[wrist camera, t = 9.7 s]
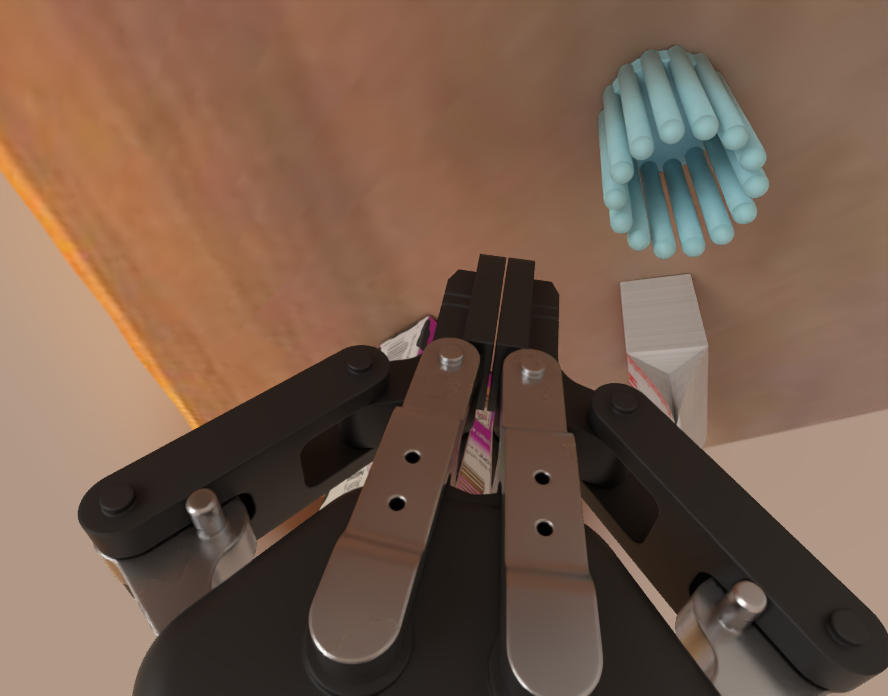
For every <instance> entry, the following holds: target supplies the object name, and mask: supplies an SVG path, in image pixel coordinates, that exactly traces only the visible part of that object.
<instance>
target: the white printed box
mask: <svg viewBox="0 0 888 696" xmlns="http://www.w3.org/2000/svg"><path fill="white" fill-rule="evenodd" d="M620 291H621V301H622V312H623V322H624V333H625V344H626V354H627V364H628V374H629V384H630V386H631V387H634V388H636V389H638V390H639V391H641V392H642V393H643V394H644V395H646V396H647V397H648V398H649V399H650V400H651V401H652V402H653V403H654V404H655V405H656V406H657V407H658V408H659V409H660V410H661V411H662V412H663V413H665V414H666V415H667V416H668V417H669V418H670V419H671V420H672V421H673V422H674V423H675V424H676V425H677V426H678V427H679V428H680V429H681V430H682V431H683V432H684V433H685V434H687V435H688V436H689V437H690V438H691V439H692V440H693V441H694V442H695V443H696V444H697V445H698V446H699V447H700V448H701V449H702V448H703V446H704V444H705V442H706V440H707V401H708V343H707V339H706V335H705V331H704V327H703V323H702V319H701V315H700V311H699V307H698V302H697V298H696V294H695V290H694V286H693V282H692V278H691V274H683V275H675V276H667V277H659V278H650V279H642V280H634V281H626V282H620Z"/></svg>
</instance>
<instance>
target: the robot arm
mask: <svg viewBox="0 0 888 696" xmlns="http://www.w3.org/2000/svg"><path fill="white" fill-rule="evenodd" d="M505 263H506V257H500V256H492V255H485V254H480V257H479V262H478V267H477V272H473V271H466V270H458V271H457V272H456V273H455V274H454V275H452V276H451V277H450V278H449V279H448V282H447V286H446V290H445V295H444V298H443V302H442V305H441V309H440V313H439V317H438V321H437V325H436V329H435V333H434V337H433V340H432V342H431V343H430V344H428V345H427V346H426V347H425V349H424V351H423V353H421V354H420V355H418V356H415V357H412V358H409V359H402V360H392V361H389V359H388V357H387V356H386V354H385V353H384V352H382V351H381V350H379V349H377V348H375V347H372V346H366V345H357V346H351V347H348V348H345V349H343V350H341V351H339V352H337V353H336V354H334V355H332V356H330V357H328V358H326V359H324V360H323V361H321V362H319V363H317V364H315V365H313V366H311V367H310V368H308V369H306V370H304V371H302V372H300V373H298V374H297V375H295V376H293V377H291V378H289V379H287V380H285V381H284V382H282V383H280V384H278V385H276V386H274V387H272V388H271V389H269V390H267V391H265V392H263V393H261V394H259V395H258V396H256V397H254V398H252V399H250V400H248V401H246V402H245V403H243V404H241V405H239V406H237V407H235V408H233V409H232V410H230V411H228V412H226V413H224V414H222V415H220V416H218V417H217V418H215V419H213V420H211V421H209V422H207V423H205V424H204V425H202V426H200V427H198V428H196V429H194V430H192V431H191V432H189V433H187V434H185V435H183V436H181V437H179V438H178V439H176V440H174V441H172V442H170V443H168V444H166V445H165V446H163V447H161V448H159V449H157V450H155V451H154V452H152V453H150V454H148V455H146V456H144V457H142V458H141V459H139V460H137V461H135V462H133V463H131V464H129V465H127V466H126V467H124V468H122V469H120V470H118V471H116V472H114V473H113V474H111V475H109V476H107V477H105V478H104V479H102V480H100V481H99V482H97V483H96V484H95V485H94V486H93V487H91V488H90V490H88V492H87V493H86V494H85V495H84V497H83V499H82V500H81V503H80V505H79V509H78V520H79V523H80V524H81V526H82V528H83V529H84V530H85V532H86V533H87V534H88V536H89V537H90V539H91V540H92V541H93V544H94V547H95V549H96V551H97V552H98V554H99V555H100V557H101V558H102V560H103V561H104V562H105V564H106V565H107V566H108V568H109V569H110V570H111V572H112V573H113V575H114V576H115V577H116V578H117V579H118V580H119V581H120V582H122V583H123V584H124V586H125V587H126V589H127V590H128V591H129V593H130V594H131V595H132V596H133V598H135V599H136V601H137V603H138V605H139V606H140V608H141V610H142V612H143V613H144V615H145V617H146V619H147V621H148V623H149V625H150V626H151V628H152V630H153V632H154V633H155V635H156V637H157V638H156V639H155V641H154V642H153V644H152V645H151V647H150V648H149V650H148V652H147V653H146V655H145V657H144V659H143V661H142V663H141V666H140V668H139V671H138V674H137V677H136V681H135V684H134V689H133V695H132V696H844V695H845V694H847V693H849V692H850V691H852V690H854V689H855V688H857V687H858V686H860V685H862V684H863V683H865V682H866V681H868V680H870V679H871V678H873V677H875V676H876V675H878V674H879V673H881V672H883V671H884V670H885V669H886V668H887V667H888V633H887V631H886V629H885V628H884V626H883V625H882V623H881V622H880V620H879V619H878V618H877V617H876V615H875V614H874V613H873V612H872V611H871V610H870V609H869V608H868V607H867V606H866V605H865V604H863V602H861V601H860V600H859V599H858V598H857V597H856V596H855V595H854V594H853V593H852V592H851V591H850V590H849V589H848V588H847V587H846V586H845V585H844V584H843V583H842V582H841V581H839V580H838V579H837V578H836V577H835V576H834V575H833V574H832V573H831V572H830V571H829V570H828V569H827V568H826V567H825V566H824V565H823V564H822V563H821V562H820V561H819V560H818V559H816V558H815V557H814V556H813V555H812V554H811V553H810V552H809V551H808V550H807V549H806V548H805V547H804V546H803V545H802V544H801V543H800V542H799V541H798V540H797V539H795V538H794V537H793V536H792V535H791V534H790V533H789V532H788V531H787V530H786V529H785V528H784V527H783V526H782V525H781V524H780V523H779V522H778V521H777V520H776V519H775V518H773V517H772V516H771V515H770V514H769V513H768V512H767V511H766V510H765V509H764V508H763V507H762V506H761V505H760V504H759V503H758V502H757V501H756V500H755V499H754V498H753V497H751V496H750V495H749V494H748V493H747V492H746V491H745V490H744V489H743V488H742V487H741V486H740V485H739V484H738V483H737V482H736V481H735V480H734V479H733V478H731V476H729V475H728V474H727V473H726V472H725V471H724V470H723V469H722V468H721V467H720V466H719V465H718V464H717V463H716V462H715V461H714V460H713V459H712V458H710V456H708V455H707V454H706V453H705V452H704V451H703V450H702V449H701V448H700V447H699V446H698V445H697V444H696V443H695V442H694V441H693V440H692V439H691V438H690V437H689V436H688V435H687V434H685V433H684V432H683V431H682V430H681V429H680V428H679V427H678V426H677V425H676V424H675V423H674V422H673V421H672V420H671V419H670V418H669V417H668V416H667V415H666V414H665V413H663V412H662V411H661V410H660V409H659V408H658V407H657V406H656V405H655V404H654V403H653V402H652V401H651V400H650V399H649V398H648V397H647V396H646V395H644V394H643V393H642V392H641V391H639V390H638V389H636V388H634V387H631V386H628V385H625V384H619V383H610V384H606V385H602V386H601V387H599V388H598V389H596V390H595V391H594V390H592V389H589V388H587V387H584V386H582V385H580V384H577V383H576V382H574V381H572V380H571V379H570V378H569V377H567V376H566V375H565V374H564V372H563V371H562V370H561V367H560V365H559V363H558V329H559V321H558V320H559V293H558V292H557V290H556V288H555V287H554V285H553V283H552V282H549V281H541V280H534V269H535V261H531V260H524V259H516V258H509V259H508V265H507V272H506V278H505V285H504V291H503V298H502V305H501V312H500V318H499V326H498V333H497V340H496V347H495V355H494V362H493V369H492V377H491V384H490V391H489V398H488V406H487V411H490V412H495V413H494V421H493V428H492V434H491V449H490V483H489V494H470V493H467V492H465V491H463V490H460V489H458V488H457V485H458V481H459V477H460V473H461V469H462V465H463V461H464V457H465V454H466V450H467V446H468V442H469V438H470V433H471V428H472V427H473V425H474V422H475V416H476V410H483V411H484V408H485V402H486V395H487V388H488V381H489V375H490V368H491V361H492V355H493V348H494V341H495V334H496V327H497V320H498V313H499V305H500V298H501V291H502V284H503V277H504V270H505ZM371 462H373V463H372V465H371V468H370V470H369V473H368V475H367V478H366V481H365V483H364V486H362V487H359V488H356V489H353V490H351V491H349V492H346V493H344V494H343V495H341V496H339V497H337V498H336V499H334V500H333V501H331V502H330V503H329V504H327V505H326V506H325V507H323V508H322V509H320V510H319V511H318V512H316V513H315V514H314V515H312V516H311V517H310V518H309V519H307V520H306V521H304V522H303V523H302V524H300V525H299V526H298V527H296V528H295V529H294V530H292V531H291V532H290V533H288V534H287V535H286V536H284V537H283V538H282V539H280V540H279V541H277V542H276V543H275V544H274V545H272V546H271V547H269V548H268V549H267V550H265V551H264V552H263V553H261V554H260V555H259V556H257V557H256V558H254V559H253V557H254V555H255V552H256V547H257V540H258V539H259V538H261V537H263V536H264V535H265V534H267V533H268V532H270V531H271V530H273V529H274V528H276V527H277V526H279V525H280V524H282V523H283V522H285V521H286V520H288V519H289V518H290V517H292V516H293V515H295V514H296V513H298V512H299V511H301V510H302V509H303V508H305V507H307V506H308V505H310V504H311V503H312V502H314V501H315V500H317V499H318V498H320V497H321V496H323V495H324V494H326V493H327V492H329V491H330V490H332V489H333V488H334V487H336V486H337V485H339V484H340V483H342V482H343V481H345V480H346V479H348V478H349V477H351V476H352V475H354V474H355V473H356V472H358V471H359V470H361V469H362V468H364V467H365V466H367V465H368V464H370V463H371ZM581 497H582V498H583V500H584V501H585V502H586V503H587V505H588V506H589V507H590V508H591V510H592V511H593V512H594V513H595V514H596V516H597V517H598V518H599V519H600V521H602V523H603V524H604V526H605V527H606V528H607V529H608V531H609V532H610V533H611V534H612V535H613V536H614V538H615V539H616V540H617V542H618V543H619V544H620V545H621V546H622V548H623V549H624V550H625V551H626V553H627V554H628V555H629V556H630V558H631V559H632V560H633V561H634V562H635V564H636V565H637V566H638V567H639V569H640V570H641V571H642V572H643V574H644V575H645V576H646V577H647V578H648V580H649V581H650V582H651V583H652V585H653V586H654V587H655V588H656V589H657V591H659V593H660V594H661V596H662V597H663V598H664V599H665V601H666V602H667V603H668V604H669V605H670V607H671V608H672V609H673V610H674V611H675V613H676V614H677V617H676V622H675V630H676V634H675V633H674V632H673V630H672V629H671V628H670V626H669V625H668V624H667V622H666V621H665V620H664V618H663V617H662V616H661V614H660V613H659V612H658V610H657V609H656V608H655V606H654V605H653V604H652V602H651V601H650V600H649V598H648V597H647V596H646V594H645V593H644V592H643V590H642V589H641V588H640V586H639V585H638V584H637V582H636V581H635V580H634V578H633V577H632V576H631V574H630V573H629V572H628V570H627V569H626V568H625V566H624V565H623V564H622V562H621V561H620V560H619V558H618V557H617V556H616V554H615V553H614V552H613V550H612V549H611V548H610V547H609V545H608V544H607V543H606V542H605V541H604V540H603V539H602V538H601V537H600V536H599V535H598V534H597V533H596V532H595V531H593V530H592V529H591V528H590V527H589V526H587V525H586V524H584V520H583V510H582V501H581ZM252 559H253V560H252Z"/></svg>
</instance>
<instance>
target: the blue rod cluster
mask: <svg viewBox="0 0 888 696" xmlns="http://www.w3.org/2000/svg"><path fill="white" fill-rule="evenodd" d="M603 106H604V109H603V110H602V111H601V112H600V113H599V115H598V130H599V144H600V157H601V171H602V185H603V198H604V204H605V206H606V207H607V208H609V214H610V225H611V228H612V230H613V231H614V232H616V233H619V234H623V233H626V232H627V237H628V244H629V246H630V247H631V248H632V249H633V250H636V251H641V250H644V249H645V248H647V247H648V245H649V243H650V234H651V240H652V245H653V251H654V254H655V255H656V256H657V257H658V258H661V259H667V258H670V257H671V256H672V255H673V254H674V253H675V251H676V244H675V240H674V236H673V231H672V227H671V223H670V219H669V214H668V210H667V206H666V201H665V197H664V193H663V189H662V184H661V180H660V176H659V172H664V176H665V181H666V185H667V189H668V193H669V197H670V201H671V205H672V209H673V213H674V217H675V221H676V225H677V229H678V233H679V237H680V241H681V245H682V249H683V252H684V253H685V254H686V255H687V256H690V257H697V256H699V255H701V254H702V253H703V252H704V250H705V241H704V237H703V234H702V231H701V227H700V224H699V221H698V218H697V214H696V211H695V208H694V204H693V201H692V198H691V194H690V191H689V188H688V185H687V181H686V178H685V175H684V171H683V168H682V166H683V165H685V164H686V163H687V166H688V169H689V172H690V175H691V179H692V182H693V185H694V188H695V191H696V194H697V197H698V200H699V204H700V207H701V210H702V213H703V216H704V219H705V222H706V225H707V229H708V232H709V235H710V238H711V240H712V241H713V242H714V243H715V244H718V245H725V244H727V243H729V242H730V241H731V240H732V239H733V237H734V229H733V226H732V224H731V221H730V218H729V216H728V213H727V211H726V208H725V205H724V203H723V200H722V198H721V195H720V192H719V190H718V187H717V184H716V182H715V179H714V177H713V174H712V171H711V169H710V166H709V164H708V161H707V158H706V156H705V153H704V150H705V149H706V151H707V154H708V156H709V159H710V161H711V164H712V167H713V169H714V172H715V174H716V177H717V179H718V182H719V184H720V187H721V190H722V192H723V195H724V197H725V200H726V202H727V205H728V208H729V210H730V213H731V215H732V218H733V219H734V221H735V222H737V223H739V224H747V223H750V222H751V221H753V220H754V219H755V217H756V215H757V208H756V205H755V203H754V201H753V199H752V198H758V197H760V196H762V195H764V194H765V193H766V192H767V190H768V188H769V180H768V178H767V176H766V175H765V173H764V171H763V169H762V166H763V165H764V164H765V162H766V158H767V156H766V152H765V150H764V148H763V146H762V145H761V143H760V141H759V139H758V138H757V136H756V134H755V132H754V131H753V129H752V127H751V125H750V123H749V122H748V120H747V118H746V116H745V115H744V113H743V111H742V109H741V108H740V106H739V104H738V102H737V100H736V99H735V97H734V95H733V93H732V92H731V90H730V88H729V86H728V84H727V83H726V81H725V79H724V77H723V76H722V74H721V73H720V72H718V71H715V70H714V68H713V66H712V64H711V62H710V60H709V59H708V57H707V56H706V55H705V54H703V53H697V54H695V55H694V54H691V53H689V52H686V51H685V49H684V48H683V47H682V46H680V45H675V46H672V47H671V48H670V49H669V50H660V51H656V50H654V49H649V50H646V51H645V52H644V53H643V54H642V55H641V58H639V59H637V60H635V61H634V62H632V63H631V64H624V65H623V66H621V67H620V69H619V70H618V74H617V78H616V79H615V81H614V82H613V84H612V85H610V86H608V87H606V88H605V90H604V91H603ZM638 170H639V171H638ZM639 173H640V177H639ZM640 178H641V182H640ZM641 184H642V188H641ZM642 190H643V194H642ZM643 195H644V199H643ZM644 201H645V205H644ZM645 206H646V211H645ZM646 212H647V216H646ZM647 217H648V222H647ZM648 223H649V227H648ZM649 229H650V233H649Z"/></svg>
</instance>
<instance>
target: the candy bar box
mask: <svg viewBox="0 0 888 696" xmlns="http://www.w3.org/2000/svg"><path fill="white" fill-rule="evenodd" d="M436 325H437V322H436V321H435V320H434V319H433V318H432V317H431V316H426V317H425V318H423V319H421V320H420V321H418V322H416V323H415V324H413V325H412V326H410V327H409V328H407V329H405V330H403V331H401V332H400V333H398V334H396V335H394V336H392V337H390V338H389V339H388V340H386V341H385V342H383V343H382V344H380V346H379V348H378V349H379V350H381V351H382V352H384V353H385V354H386V356H387V357H388V359H389V361H392V360H402V359H409V358H412V357H415V356H418V355H420V354H421V353H423V351H424V349H425V347H426V346H427V345H428V344H430V343H431V342H432V340H433V337H434V333H435V329H436ZM491 377H492V375H491V374H490V375H489V381H488V388H487V395H486V402H485V408H484V411H483V410H476V416H475V422H474V425H473V427H472V428H471V433H470V438H469V442H468V446H467V450H466V454H465V457H464V461H463V465H462V469H461V473H460V477H459V481H458V485H457V488H458V489H460V490H463V491H465V492H467V493H470V494H489V483H490V449H491V434H492V428H493V421H494V413H495V412H490V411H487V406H488V398H489V391H490V384H491ZM372 463H373V462H371V463H370V464H368V465H367V466H365V467H364V468H362V469H361V470H359V471H358V472H356V473H355V474H354V475H352V476H351V477H349V478H348V479H346V480H345V481H343V482H342V483H340V484H339V485H337V486H336V487H334V488H333V489H332V490H330V491H329V492H327V493H326V495H325V497H324V500H323V503H322V506H321V508H320V509H322V508H323V507H325V506H326V505H327V504H329V503H330V502H331V501H333V500H334V499H336V498H337V497H339V496H341V495H343V494H344V493H346V492H349V491H351V490H353V489H356V488H359V487H362V486H364V483H365V481H366V478H367V475H368V473H369V470H370V468H371V465H372Z"/></svg>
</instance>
